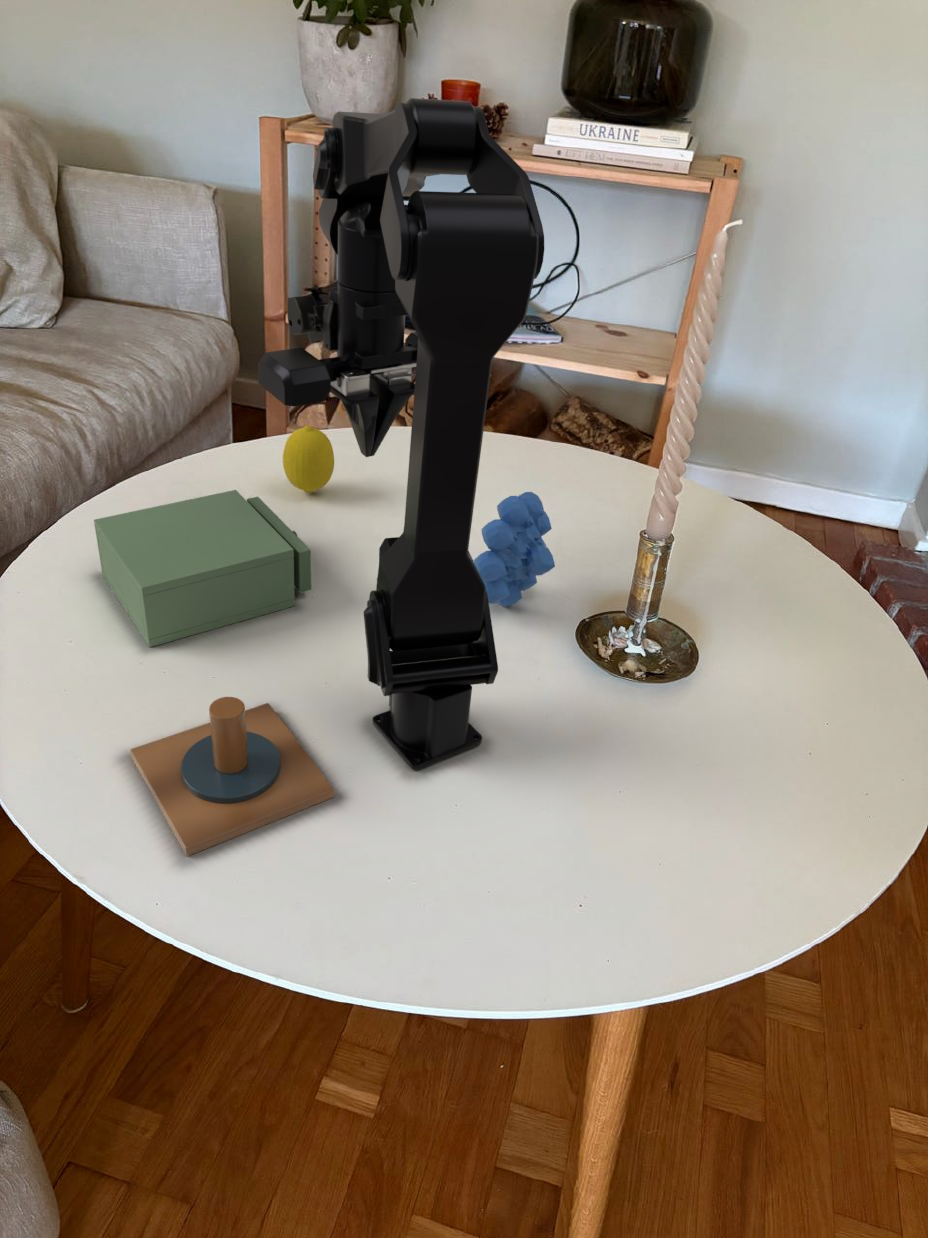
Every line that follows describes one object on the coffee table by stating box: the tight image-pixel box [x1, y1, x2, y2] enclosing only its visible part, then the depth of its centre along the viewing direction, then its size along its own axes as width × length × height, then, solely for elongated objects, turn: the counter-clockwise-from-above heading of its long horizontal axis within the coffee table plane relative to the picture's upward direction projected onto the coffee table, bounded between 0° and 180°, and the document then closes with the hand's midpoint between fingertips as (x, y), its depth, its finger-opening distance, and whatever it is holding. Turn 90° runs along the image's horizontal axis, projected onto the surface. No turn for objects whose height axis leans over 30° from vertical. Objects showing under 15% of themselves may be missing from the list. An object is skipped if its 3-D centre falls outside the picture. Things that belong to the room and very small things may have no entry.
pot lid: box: [181, 696, 281, 803], centre depth 68 cm, size 7×7×6 cm
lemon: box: [282, 424, 335, 494], centre depth 104 cm, size 6×6×8 cm
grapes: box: [473, 491, 556, 608], centre depth 88 cm, size 12×7×12 cm, turn 148°
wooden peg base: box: [129, 702, 335, 857], centre depth 70 cm, size 11×11×1 cm
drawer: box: [246, 496, 312, 593], centre depth 89 cm, size 14×11×4 cm
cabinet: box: [93, 489, 296, 648], centre depth 87 cm, size 14×13×6 cm
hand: (367, 454), depth 88 cm, fingers closed
